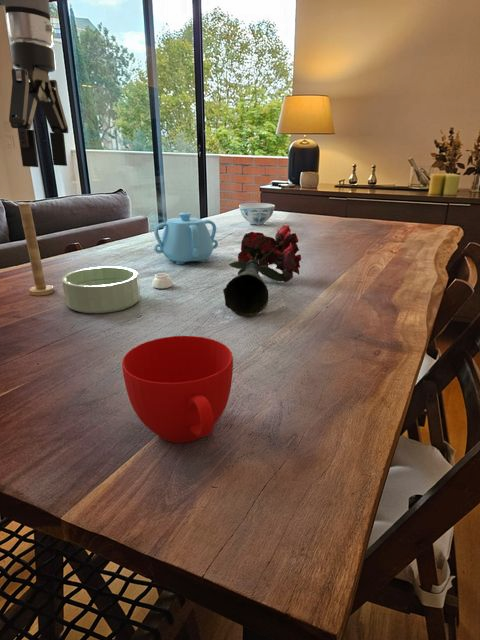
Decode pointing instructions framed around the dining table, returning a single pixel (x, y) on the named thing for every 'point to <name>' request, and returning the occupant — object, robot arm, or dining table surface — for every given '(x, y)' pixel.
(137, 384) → the ceramic cup
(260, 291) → the red rose bouquet
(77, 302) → the bowl
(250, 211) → the chinaware
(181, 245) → the decorative pot
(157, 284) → the white jar
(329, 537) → the dining table surface
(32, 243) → the stirrer
